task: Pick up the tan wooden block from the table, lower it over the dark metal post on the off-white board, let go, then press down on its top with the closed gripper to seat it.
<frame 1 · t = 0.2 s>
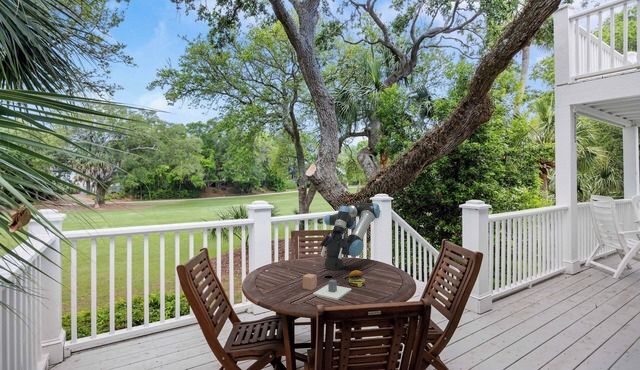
hand: (330, 257, 220), 16 cm above the table, fingers open, 13 cm apart
tan wooden block: (309, 287, 209), on the table
cheeseburger: (356, 284, 215), on the table
post board: (332, 292, 201), on the table
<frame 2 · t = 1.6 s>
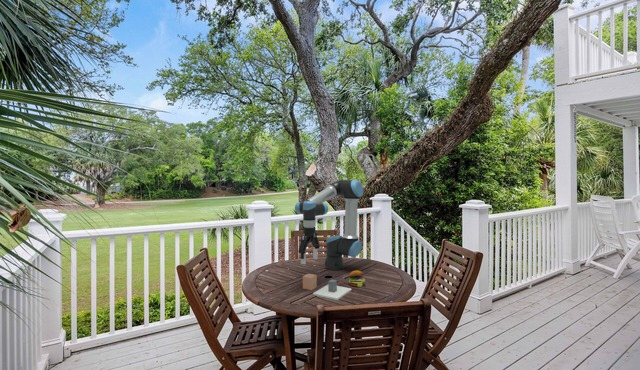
hand: (309, 261, 208), 16 cm above the table, fingers open, 13 cm apart
nothing on the table moved.
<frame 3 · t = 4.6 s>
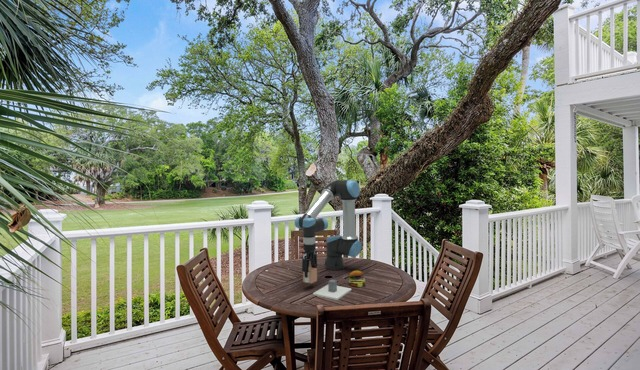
hand: (310, 280, 209), 4 cm above the table, fingers closed on tan wooden block, 6 cm apart
tan wooden block: (310, 281, 209), point 4 cm above the table, touching gripper
everything else where it was.
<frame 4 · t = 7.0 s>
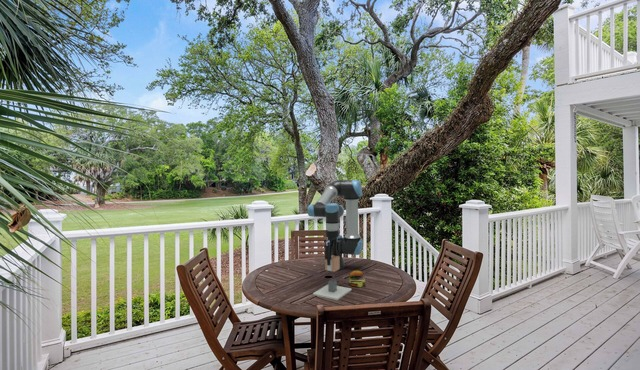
hand: (332, 269, 200), 14 cm above the table, fingers closed on tan wooden block, 6 cm apart
tan wooden block: (332, 269, 200), point 14 cm above the table, touching gripper
everything else where it was.
when the fingers open (2 cm above the table, at t = 9.7 s): tan wooden block drops 1 cm, resting on post board.
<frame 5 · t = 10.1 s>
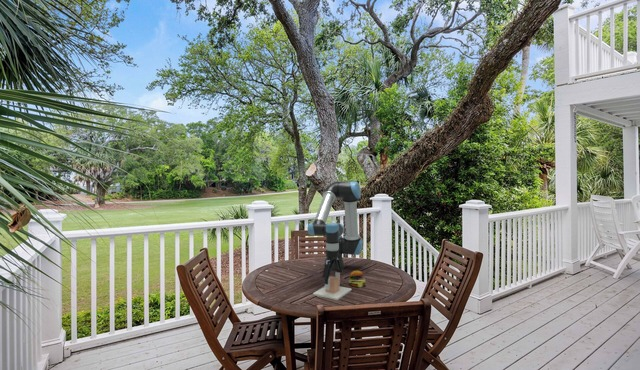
hand: (332, 286, 201), 4 cm above the table, fingers open, 12 cm apart
tan wooden block: (332, 290, 201), point 1 cm above the table, touching post board
everything else where it was.
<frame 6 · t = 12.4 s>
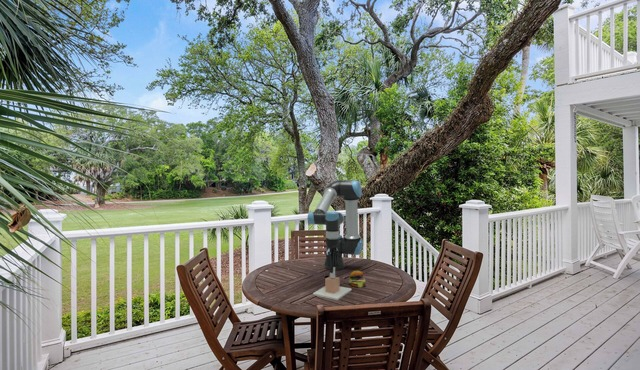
hand: (332, 277, 200), 9 cm above the table, fingers closed
tan wooden block: (332, 290, 201), point 1 cm above the table, touching gripper, post board
everything else where it was.
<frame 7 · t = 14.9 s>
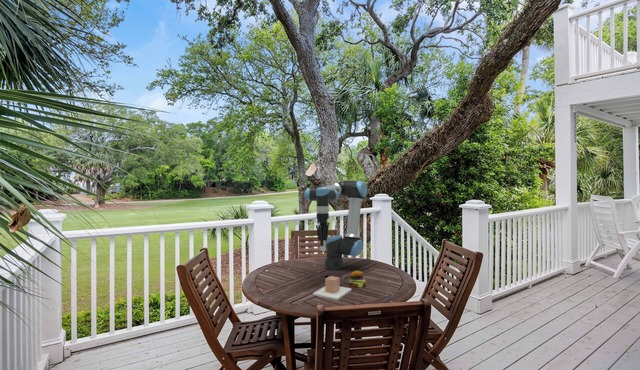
hand: (322, 250, 210), 22 cm above the table, fingers closed
tan wooden block: (332, 290, 201), point 1 cm above the table, touching post board
at the end: tan wooden block 0.1 cm from the post board (horizontally); tan wooden block point 1.0 cm above the table; tan wooden block tilted 0° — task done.
